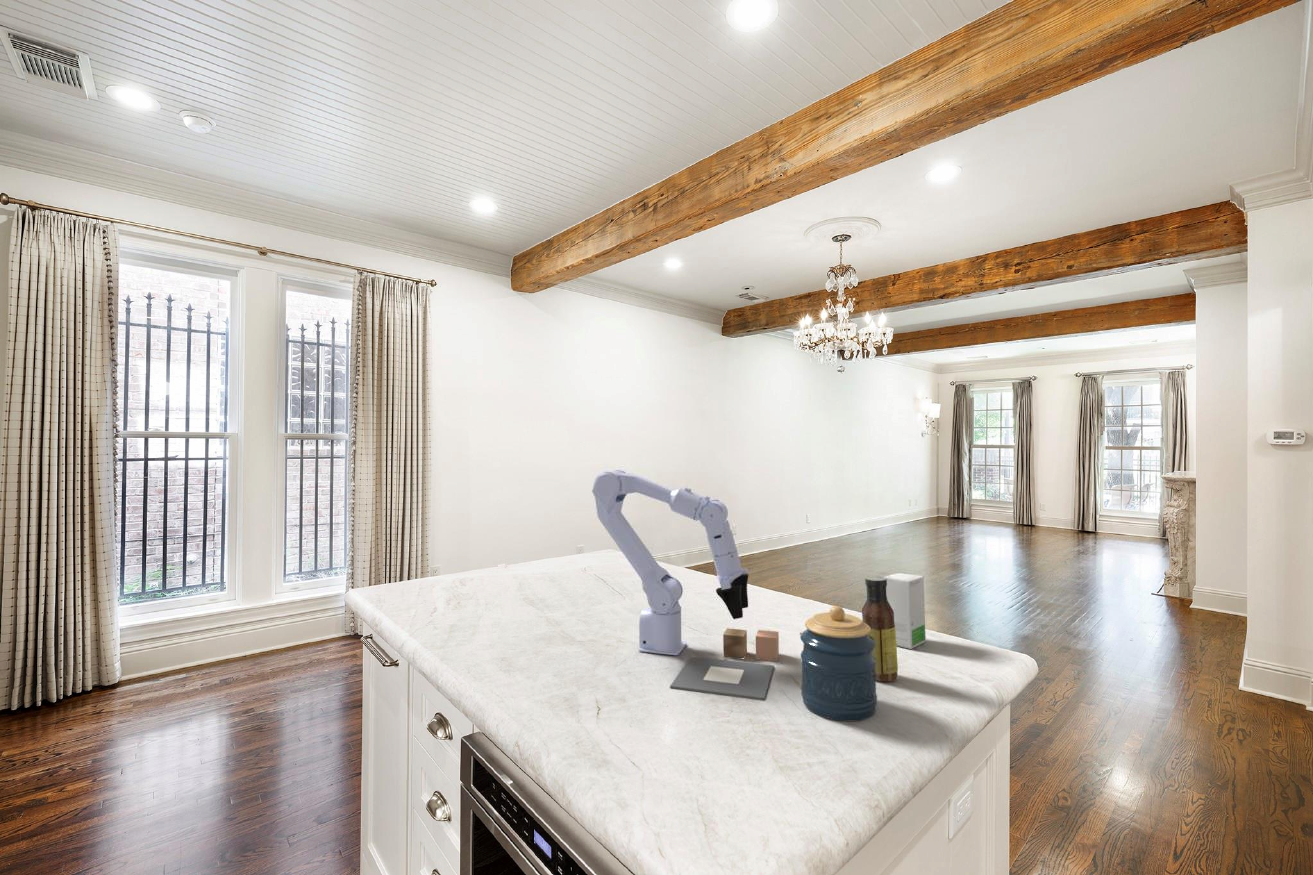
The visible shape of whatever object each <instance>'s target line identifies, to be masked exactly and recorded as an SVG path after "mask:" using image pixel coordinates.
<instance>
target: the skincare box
mask: <svg viewBox="0 0 1313 875" xmlns="http://www.w3.org/2000/svg"><path fill="white" fill-rule="evenodd" d="M884 578H886V579H887V586H886V594H887V595H886V596H887V601H888V602H889V604H890V606H891V608H892V609H893V611H894V623H895V630H896V646H897V647H898V648H899V647H900V648H904V649H909V650H913V649H914V648H917V647H919V646H921V645H922V644H924V643H926V641H927V640H926V616H925V614H926V612H925V611H926V610H925V583H924V582H925V581H924V576H922V575H916V574H910V573H909V574H907V573H902V572H901V573H900V572H899V573H892V574H889V575H886V576H884Z"/></svg>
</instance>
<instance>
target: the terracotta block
mask: <svg viewBox="0 0 1313 875" xmlns="http://www.w3.org/2000/svg"><path fill="white" fill-rule="evenodd" d="M779 639H780V638H779V631H774V630H765V629H758V630H757V632H756V635H755V659H756V658H757V659H756V660H762V659H763V660H764V661H772V660H773V662H777V661H778V657H779V655H778V654H780V652H779V650H780V649H779V648H780V647H779V646H780V644H779V643H780V642H779ZM763 660H762V661H763Z"/></svg>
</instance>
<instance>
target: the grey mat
mask: <svg viewBox="0 0 1313 875" xmlns="http://www.w3.org/2000/svg"><path fill="white" fill-rule="evenodd" d="M774 668H775V667H774V664H773V665H772V664H767V663H766V664H765V663H757V662H746V661H739V660H738V661H737V660H730V659H729V660H728V659H722V658H721V659H719V658H711V657H701V656H692V655H691V656H690V657H689V658H688V659H687V661H686V662H685V664H684V665H683V667H682V668H681V669H680V671H679V673H678V674H677V675H676V677H675V678H674V679H673V681H672V682H671V684H670V686H669V688H670V689H674V690H675V689H676V690H682V691H683V690H684V691H690V692H698V693H707V694H715V695H720V696H721V695H723V696H730V697H737V698H743V699H744V698H745V699H752V700H760V701H765V699H766V695H767V691H768V688H769V685H770V681H771V678H772V674H773V671H774Z"/></svg>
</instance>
